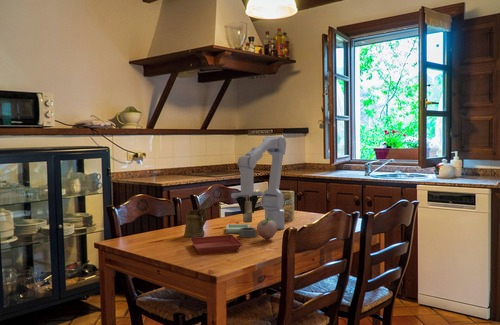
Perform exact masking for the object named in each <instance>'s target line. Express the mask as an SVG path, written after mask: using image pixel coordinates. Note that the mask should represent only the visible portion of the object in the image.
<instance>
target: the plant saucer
mask: <svg viewBox="0 0 500 325" xmlns="http://www.w3.org/2000/svg"><path fill="white" fill-rule="evenodd" d="M189 240H190V242H191V243H192V245H193V246H194V248H195V249H196V251H197V252H198V253H199V254H200V255H204V254H216V253H227V252H236V251H238V250H239V249H240V248H241V247H242V246H243V243H242V242H241V241H240V240H239V239H237V238H236V237H235V236H234V235H233V234H225V235H224V234H222V235H210V236H202V237H197V238H189Z"/></svg>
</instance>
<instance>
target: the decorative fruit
mask: <svg viewBox="0 0 500 325" xmlns="http://www.w3.org/2000/svg"><path fill="white" fill-rule="evenodd" d="M277 230H278V229H277V225H276V223H275V222H274V221H273V219H271V218H268V217H267V219H265V218H264V219H262V220H260V221H259V222H258V224H257V226H256V233H257V234H258V236H260V237H261V238H262V239H264V240H266V241H269V240H270V239H272V238H274V236H275V235H276V234H277Z"/></svg>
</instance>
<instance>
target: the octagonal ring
mask: <svg viewBox="0 0 500 325" xmlns="http://www.w3.org/2000/svg"><path fill="white" fill-rule="evenodd" d="M239 237H240V238H244V239H246V238H249V239H250V238H254V237H257V227H251V226H250V227H245V228H240V233H239Z"/></svg>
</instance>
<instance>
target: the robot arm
mask: <svg viewBox="0 0 500 325" xmlns="http://www.w3.org/2000/svg"><path fill="white" fill-rule="evenodd" d="M286 148H287V141H286V138H285V136H283V135H281V136H267V135H266V136H265V137H264V138H262V142H261V143H260V144H259V146H258V147H252V148H251V149H250V150H249V151H248V152H246V154H245V155H241V156H239V157H238V159H237V160H238V161H237V163H236V164H237V166H238V168H239V170H238V171H239V173H240V192H234V193H231V194H230V195H231V199H235V200H236V203H237V204H238V206H239V209H240V214H242V215H243V214H245V201H247V200H246V198H249V199H248V201H252V214H254V213H255V209H256V206H257V203H258V201H259V199H260V205H261V207H262V208H263V210H264V220H265V219H267V217H268V218H271V219H273V221H274V222H275V223H276V225H277V230H279V229H281V230H284V229H285V221H286V220H284V209H281V208H282V207H283V204H284V200H283V193H282V192H281V191H282V190H280V183H281V175H282V168H283V162H284V160H283V159H284V155H285V154H286ZM265 152H267V153H268V154H269V155H270V156H271V165H270V173H269V180H268V187H267V189H266V190H264V191H262V190H261V191H260V190H259V191H254V179H255V178H254V169H255V168H256V166H257V162H258V161H259V160H260V159H262V157H263V154H264V153H265ZM276 195H277V196H276ZM259 197H261V198H259Z"/></svg>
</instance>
